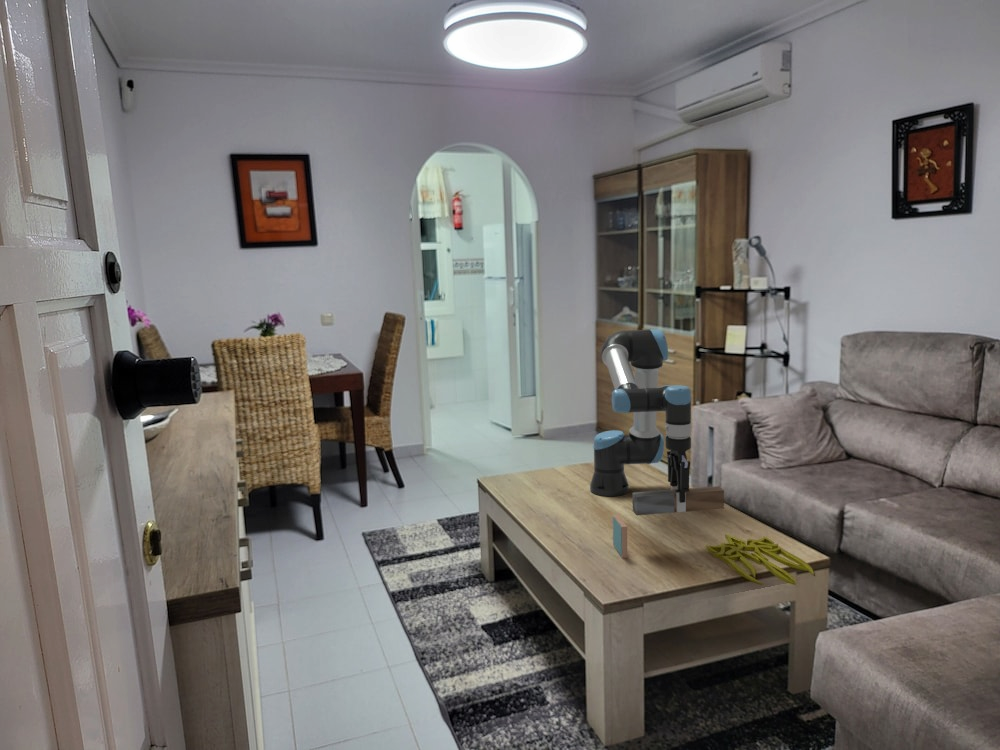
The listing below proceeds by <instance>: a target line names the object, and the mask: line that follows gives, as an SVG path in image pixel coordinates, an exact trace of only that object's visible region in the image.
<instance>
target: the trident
mask: <svg viewBox="0 0 1000 750" xmlns="http://www.w3.org/2000/svg"><path fill="white" fill-rule="evenodd" d="M724 538H725V539H726V541H727V542H728V543H727V542H721V543H720V545H714V546H713V545H708V544H706V545H705V549H706V551H708V552H709V553H710V554H712V555H713V557H714V558H716V557H717V558H718V559H719V560H721V561H722V562H724V563H726V564H727V565H728V564H729V565H730V566H731V567H732V568H733V569H734V572H736V573H737V574H738V575H740V576H741V577H743V578H744V579H746V580H748V581H751V582H753V583H756V584H760V585H763V582H762V581H760V580H758V579H756V569H755V566H753V564H752V563H751V562H750V561H749V560H750V559H751V561H752V562H755V563H756V564H758V565H760V564H761V565H762V566H763V567H765V568H766V569H767V570H768V571H769V572H770V573H771V574H772V575H773V576H775V577H777V578H778V579H779V580H781V581H784V582H786V583H788V584H790V585H794V586H797V581H796V579H795V578H794V577H793V576H792V575H791V574H790V573H789V572H788V571H786V570H785V569H783V568H781V567H780V566H778V565H776V564H774V563H773V562H771V561H769V558H770V559H772V560H773V561H776V562H778V563H780V564H782V565H785V566H787V567H789V568H793V569H797V570H800V571H805V572H809V573H811V575H813V576H814V574H815V573H814V569H813V568H812V567H811V565H810V564H808V563H807V562H806V561H804V560H803V559H802V558H801V557H799V556H797V555H795V554H793V553H791V552H788V551H787V550H785V549H784V548H782V547H781V546H779V543H775V542H774V541H773V540H772V539H770V538H768V537H766V536H763V538H760V539H753V538H748V539H746V541H745V540H743V539H741V538H738V537H735V536H731V535H729V534H727V533H724ZM748 551H750V552H751V551H752V553H749V552H748ZM753 551H754V552H753ZM780 554H781V555H782V556H781V555H780ZM767 557H769V558H767ZM784 557H785V558H784ZM739 559H740V560H739ZM733 560H735V561H733ZM736 561H739V563H741V565H743V566H744V567H745V568H746V569H747V570H748V571H749V572H750V574H751V575H750V574H748V573H747V572H746V571H745V570H744V569H743V568H742V567H740V565H739V564H737V563H736ZM729 565H728V566H729ZM730 566H729V567H730ZM731 567H730V568H731ZM732 568H731V569H732ZM733 569H732V570H733Z"/></svg>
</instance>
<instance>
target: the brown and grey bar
mask: <svg viewBox="0 0 1000 750" xmlns="http://www.w3.org/2000/svg"><path fill="white" fill-rule="evenodd" d="M675 490H678V489H675ZM675 490H671V489H665V490H664V489H662V490H649V491H636V492H632V512H633V513H634V515H636V516H649V515H658V514H659V515H660V514H672V513H678V512H677V511H676V491H675ZM722 509H725V489H723V488H722V487H721V486H719V485H716V486H704V487H691V488H690V487H689V492H686V512H699V511H712V510H722Z"/></svg>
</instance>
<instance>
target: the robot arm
mask: <svg viewBox="0 0 1000 750" xmlns="http://www.w3.org/2000/svg"><path fill="white" fill-rule="evenodd" d="M600 350H601V351H600V356H601V360H602V362H603V364H604V365H605V366H606V367H607V370H608V372H609V376H610V379H611V382H612V385H613V391H612V392H611V406H612V410H613V412H615V413H619V414H621V413H624V414H627V413H633V426H631V427H630V428H629V431H628V434H624V432H623V431H622V430H618V429H617V430H616V429H615V430H614V429H613V430H606V431H601V432H600V433H598V434H596V435H595V436H594V438H593V446H592V447H593V463H594V465H593V467H594V469H593V470H594V471H593V475H592V478H591V481H590V484H589V489H590V492H591V493H592V494H593V495H594V494H595V495H597V496H601V497H602V496H603V497H617V496H622V495H625V494H627V493H629V491H630V490H629V489H630V486H629V481H628V479H627V476H626V473H625V465H646V464H647V465H650V464H657V463H659V462H661V460H662V458H663V456H664V450H665V448H666V449H667V451H666V457H667V482H668V483H669V485H670V490H675V489H678V490H675V491H676V511H677V512H676V513H685V512H686V492H689V488H690V469H691V467H690V466H691V461H689V460H687V459H688V457H687V452H686V451H689V450H690V449H692V448H691V447H692V438H691V435H692V422H691V421H692V399H693V398H692V394H691V393H692V391H691V388H690V387H689V386H688V385H687V386H686V385H680V384H678V385H667V384H666V385H662V386H660V387H658V386H659V385H658V383H659V382H658V381H659V370H660V369H661V368H662V367H663V366H664V365H663V363H664V362H665V361H667V360H668V358H669V348H668V342H667V338H666V335H665V333H664V331H663V330H661V329H651V328H650V329H634V330H620V331H617V332H615V333H613V334H611V335H610V336H608V337H607V339H606V340H605V341H604V342H603V344H602V347H601V349H600ZM663 361H664V362H663ZM632 368H633V369H634V372H633V370H632ZM657 412H665V426H664V427H663V429H664V430H665V435H666V437H665V438H664V435H663V434H662V433H661V431H660V429H659V428H658V427H657ZM664 439H665V440H664Z"/></svg>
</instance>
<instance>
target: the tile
mask: <svg viewBox="0 0 1000 750" xmlns="http://www.w3.org/2000/svg"><path fill="white" fill-rule="evenodd" d="M612 539H613V542H612V543H613V544H612V545H613V546H614V548H615V549H616V551H617V553H618V554H619V556H620V557H621V558H622V559H624V558H628V526H627V525H626V524H625V522H624V521H623V520H622V518H621V517H620V516H619V514H612Z"/></svg>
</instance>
